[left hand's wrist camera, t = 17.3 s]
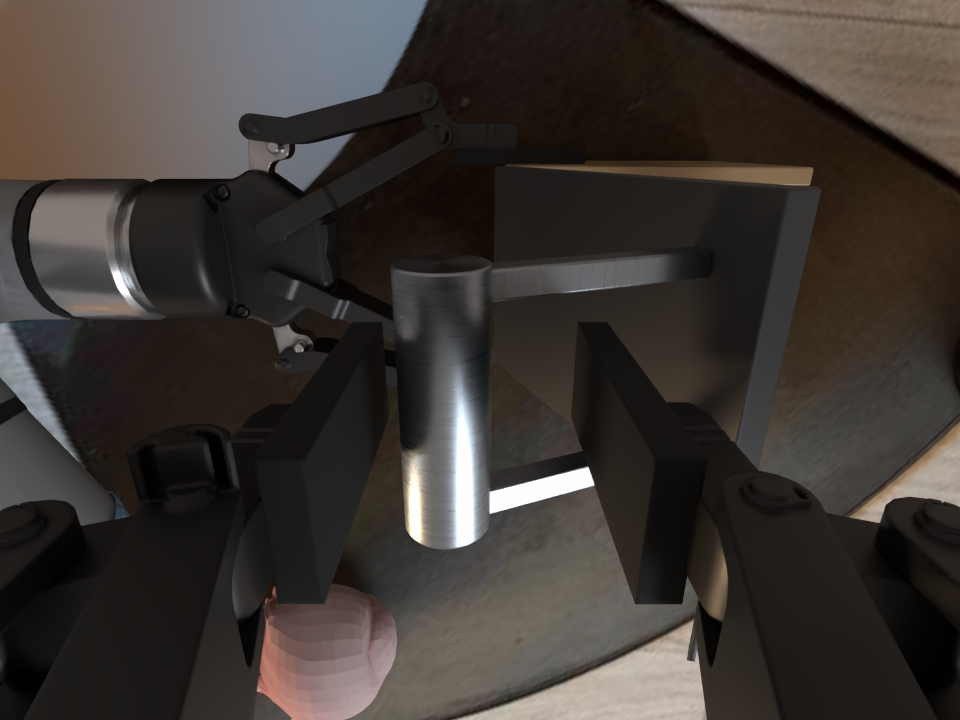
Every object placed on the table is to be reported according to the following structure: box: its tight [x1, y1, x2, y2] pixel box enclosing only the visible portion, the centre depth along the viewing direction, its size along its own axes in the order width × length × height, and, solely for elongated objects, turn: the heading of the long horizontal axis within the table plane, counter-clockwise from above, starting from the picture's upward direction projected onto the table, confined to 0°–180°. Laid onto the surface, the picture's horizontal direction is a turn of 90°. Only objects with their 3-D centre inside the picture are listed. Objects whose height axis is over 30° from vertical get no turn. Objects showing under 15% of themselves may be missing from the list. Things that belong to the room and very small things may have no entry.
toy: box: [257, 583, 397, 720], centre depth 43 cm, size 12×11×15 cm
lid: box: [390, 166, 821, 549], centre depth 18 cm, size 14×9×9 cm
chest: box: [505, 161, 813, 186], centre depth 31 cm, size 14×9×11 cm
